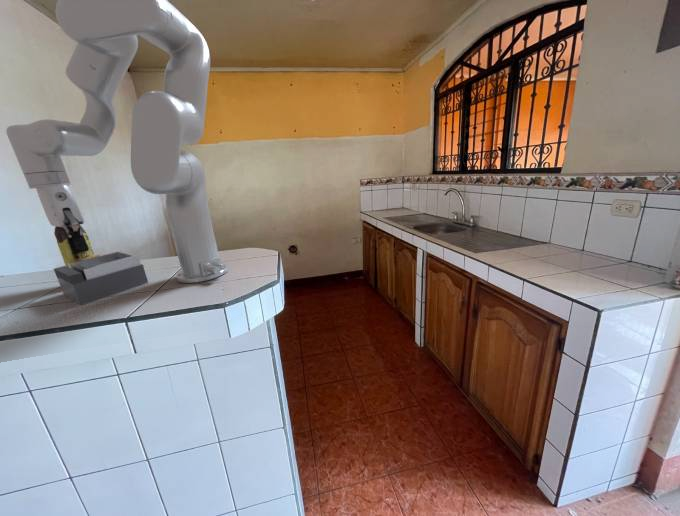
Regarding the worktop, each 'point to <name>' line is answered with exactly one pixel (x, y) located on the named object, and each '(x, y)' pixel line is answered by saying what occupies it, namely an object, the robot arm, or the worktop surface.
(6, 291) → the worktop surface
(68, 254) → the sauce bottle
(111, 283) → the grey stepped tray box
